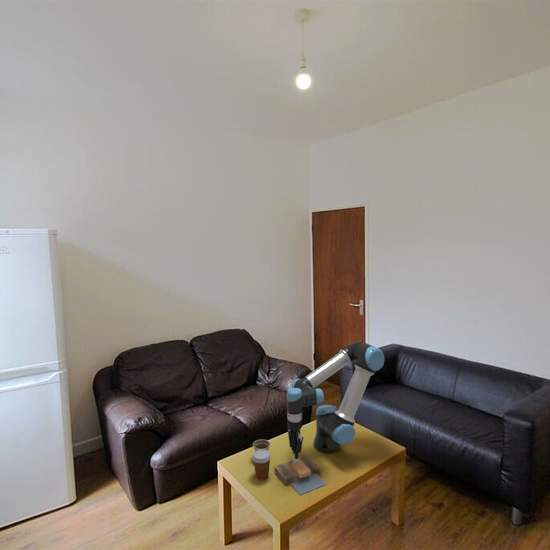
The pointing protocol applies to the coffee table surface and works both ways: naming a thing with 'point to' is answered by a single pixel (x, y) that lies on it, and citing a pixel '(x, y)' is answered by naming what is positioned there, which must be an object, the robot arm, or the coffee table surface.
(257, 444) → the clear plastic cup
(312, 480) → the mat
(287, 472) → the brown flat slab
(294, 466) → the orange brown flat block
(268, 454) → the disposable coffee cup
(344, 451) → the coffee table surface
